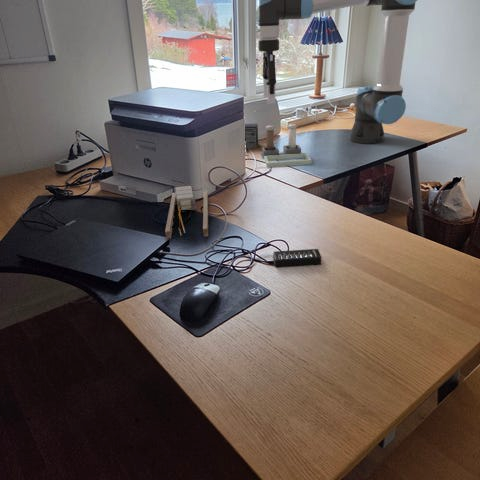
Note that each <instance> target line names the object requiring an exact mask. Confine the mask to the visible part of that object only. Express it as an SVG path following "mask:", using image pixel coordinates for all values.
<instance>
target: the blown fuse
mask: <svg viewBox="0 0 480 480" xmlns="http://www.w3.org/2000/svg"><path fill="white" fill-rule="evenodd" d="M274 130H275V125H265V131H266V132H265V134H266V139H265V140H266V146H265V147H267V151H268V150H274V146H275V131H274Z"/></svg>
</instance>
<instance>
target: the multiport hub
mask: <svg viewBox="0 0 480 480" xmlns="http://www.w3.org/2000/svg"><path fill="white" fill-rule="evenodd" d="M272 254H273V255H272V256H273V257H272V258H273V259H272V260H273V264H274V267H275V268H277V269H278V268H290V267H293V268H294V267H309V266H320V265H322V255H321V253H320V250H319V249H318V248H311V249H296V250H295V249H293V250H281V251H280V250H278V251H277V250H276V251H273V253H272Z"/></svg>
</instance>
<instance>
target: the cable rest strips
mask: <svg viewBox="0 0 480 480" xmlns="http://www.w3.org/2000/svg"><path fill="white" fill-rule="evenodd" d="M204 191H205V192H204ZM204 191H203V204H202V206H203V208H202V209H203V210H202V211H203V212H202V213H203V215H202V217H203V218H202V231H203V238H204V237H209V194H208V193H209V191H208V190H204ZM176 201H177V196H176V192H172V194H171V200H170V205H169V209H168V214H167V220H166V224H165V230H164V232H165V238H166V237H168V238H170V239H169V240H172V233H173V228H172V226H174V222H173V218H174V219H175V216H174V212H175V213H176V209H175V205H176V206H177V203H176Z"/></svg>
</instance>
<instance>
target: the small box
mask: <svg viewBox="0 0 480 480" xmlns="http://www.w3.org/2000/svg"><path fill="white" fill-rule="evenodd" d="M244 124H245V141H246V148H245V149H258V147H259V127H258V124H259V123H244Z"/></svg>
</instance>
